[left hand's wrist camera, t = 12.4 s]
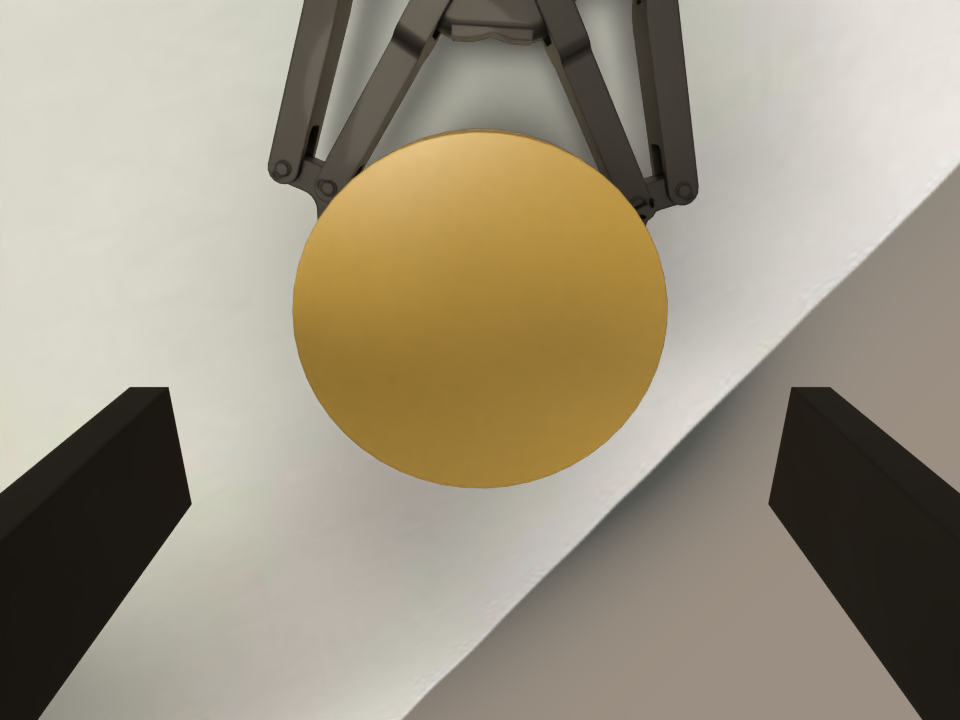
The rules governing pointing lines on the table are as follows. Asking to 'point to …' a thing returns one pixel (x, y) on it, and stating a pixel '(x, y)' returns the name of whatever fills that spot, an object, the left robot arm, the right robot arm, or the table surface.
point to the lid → (480, 309)
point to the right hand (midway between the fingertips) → (475, 350)
